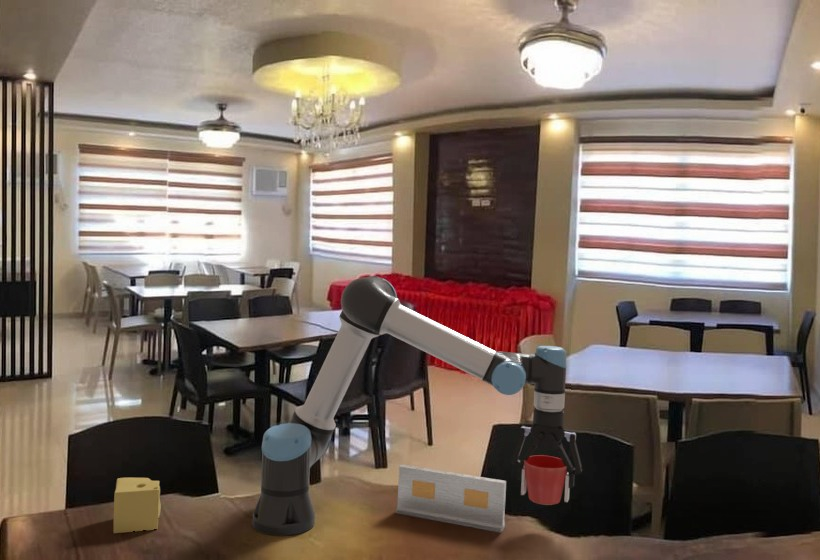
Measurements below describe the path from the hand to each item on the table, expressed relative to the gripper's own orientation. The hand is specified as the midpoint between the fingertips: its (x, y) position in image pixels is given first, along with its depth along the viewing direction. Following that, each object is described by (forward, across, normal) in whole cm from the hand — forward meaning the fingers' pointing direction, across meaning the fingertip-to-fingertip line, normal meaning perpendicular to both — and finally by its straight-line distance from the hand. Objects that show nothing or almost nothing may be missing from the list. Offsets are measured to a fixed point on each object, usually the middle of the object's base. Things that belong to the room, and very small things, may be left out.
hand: (544, 496), depth 169 cm
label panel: (+8, -23, -5) cm, 25 cm away
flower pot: (+1, 0, 0) cm, 1 cm away
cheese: (+8, -90, -42) cm, 100 cm away
